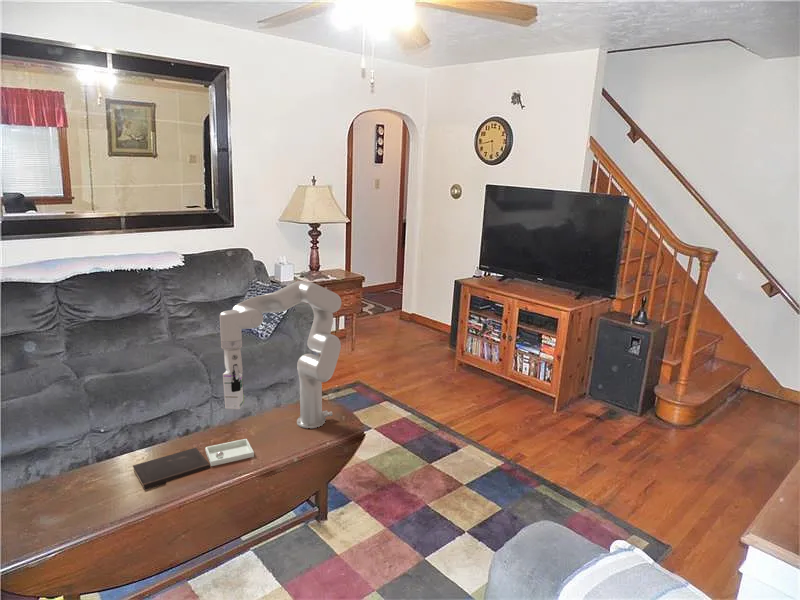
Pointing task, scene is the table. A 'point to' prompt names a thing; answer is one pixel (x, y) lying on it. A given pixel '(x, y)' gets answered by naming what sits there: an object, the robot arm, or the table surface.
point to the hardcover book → (170, 467)
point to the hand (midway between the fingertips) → (233, 387)
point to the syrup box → (232, 398)
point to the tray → (229, 452)
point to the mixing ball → (219, 455)
